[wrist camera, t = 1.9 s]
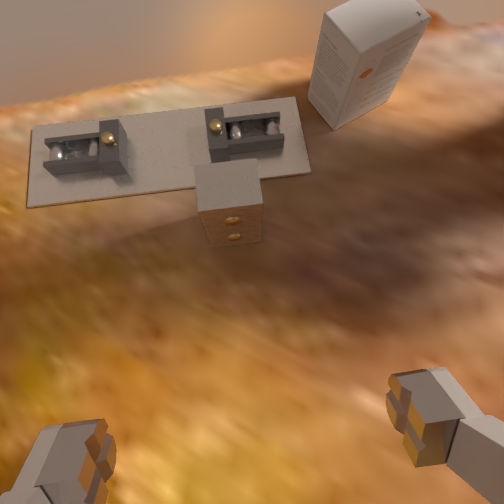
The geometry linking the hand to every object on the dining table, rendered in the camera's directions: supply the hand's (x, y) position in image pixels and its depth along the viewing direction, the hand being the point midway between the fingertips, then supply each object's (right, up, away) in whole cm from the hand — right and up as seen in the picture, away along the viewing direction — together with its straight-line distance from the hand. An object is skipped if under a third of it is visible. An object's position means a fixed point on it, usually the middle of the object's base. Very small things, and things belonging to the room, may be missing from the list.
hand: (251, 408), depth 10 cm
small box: (+11, +22, +30) cm, 39 cm away
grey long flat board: (-9, +16, +28) cm, 33 cm away
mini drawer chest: (-2, +7, +25) cm, 26 cm away
